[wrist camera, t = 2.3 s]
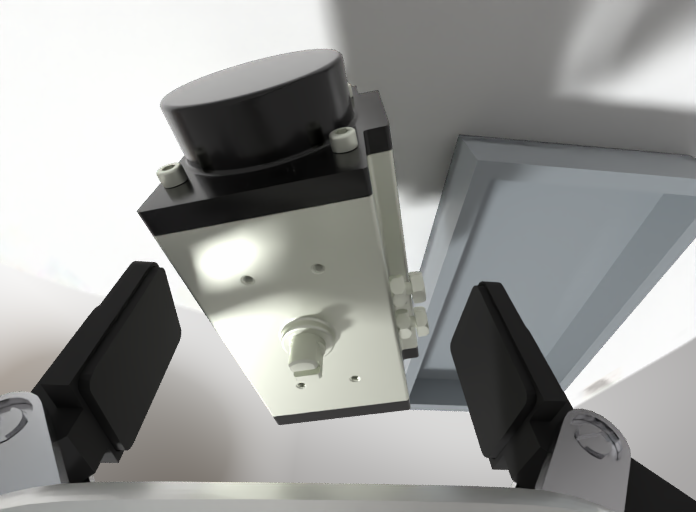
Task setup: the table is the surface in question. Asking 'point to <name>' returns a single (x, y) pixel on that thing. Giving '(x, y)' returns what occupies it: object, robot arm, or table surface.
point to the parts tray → (548, 248)
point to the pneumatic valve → (293, 233)
